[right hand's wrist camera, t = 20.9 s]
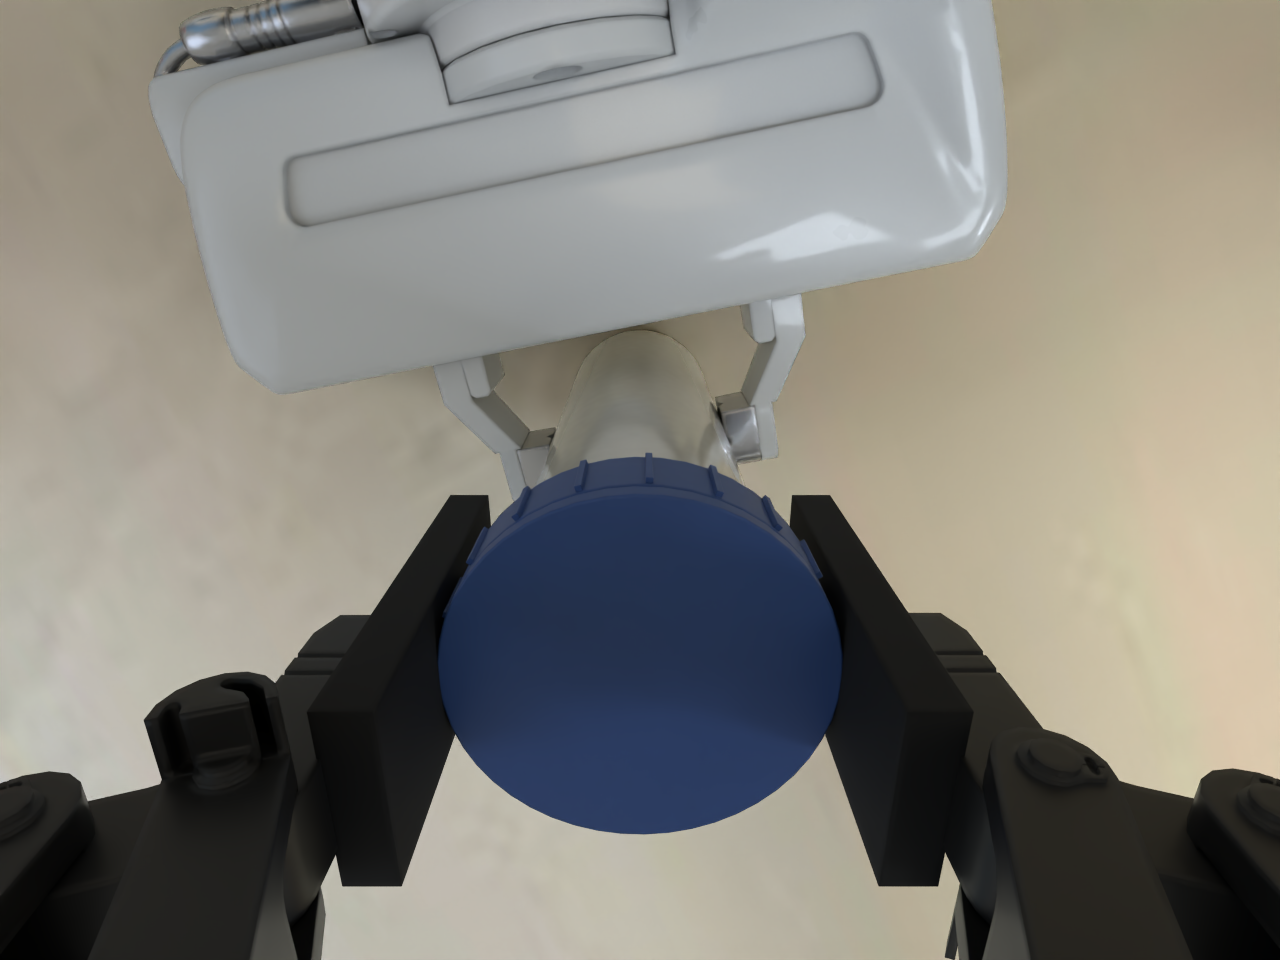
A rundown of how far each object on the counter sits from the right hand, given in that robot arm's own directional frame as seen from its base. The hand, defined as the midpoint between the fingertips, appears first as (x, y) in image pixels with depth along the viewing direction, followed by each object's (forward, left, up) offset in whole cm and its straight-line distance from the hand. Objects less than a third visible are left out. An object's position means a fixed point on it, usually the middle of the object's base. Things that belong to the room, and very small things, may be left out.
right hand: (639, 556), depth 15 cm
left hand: (-1, +1, -7) cm, 7 cm away
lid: (0, 0, +4) cm, 4 cm away
